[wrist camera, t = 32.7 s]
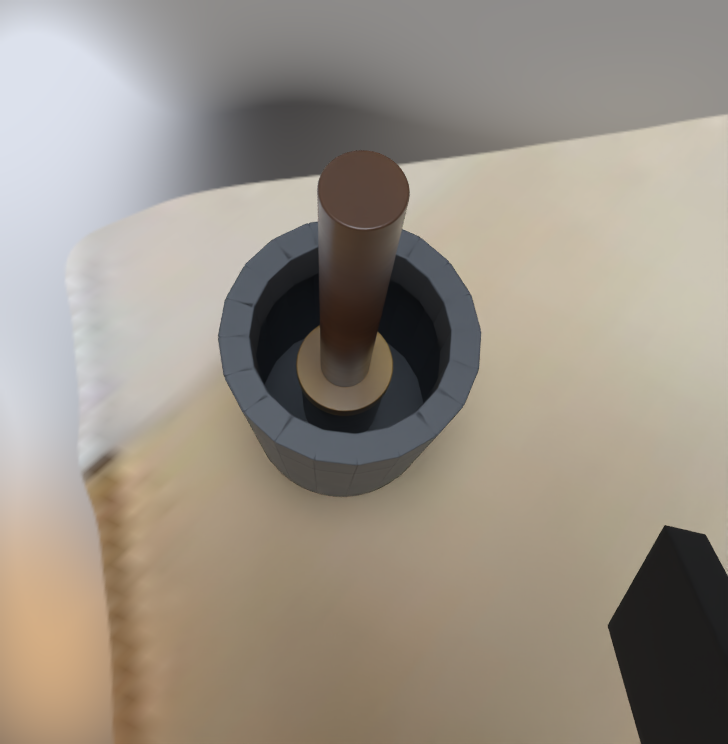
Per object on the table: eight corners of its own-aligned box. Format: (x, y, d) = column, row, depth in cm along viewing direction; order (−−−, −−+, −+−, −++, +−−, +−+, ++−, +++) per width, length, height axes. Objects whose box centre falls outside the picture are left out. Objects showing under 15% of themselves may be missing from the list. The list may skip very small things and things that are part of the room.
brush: (338, 353, 37) (357, 80, 16) (394, 403, 36) (492, 188, 15) (286, 406, 36) (231, 190, 15) (342, 459, 35) (370, 311, 14)
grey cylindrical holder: (337, 296, 39) (344, 173, 26) (462, 405, 37) (532, 329, 25) (218, 413, 36) (163, 337, 24) (347, 535, 35) (360, 522, 22)
